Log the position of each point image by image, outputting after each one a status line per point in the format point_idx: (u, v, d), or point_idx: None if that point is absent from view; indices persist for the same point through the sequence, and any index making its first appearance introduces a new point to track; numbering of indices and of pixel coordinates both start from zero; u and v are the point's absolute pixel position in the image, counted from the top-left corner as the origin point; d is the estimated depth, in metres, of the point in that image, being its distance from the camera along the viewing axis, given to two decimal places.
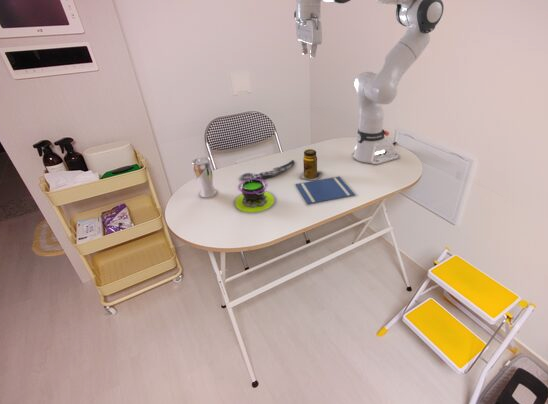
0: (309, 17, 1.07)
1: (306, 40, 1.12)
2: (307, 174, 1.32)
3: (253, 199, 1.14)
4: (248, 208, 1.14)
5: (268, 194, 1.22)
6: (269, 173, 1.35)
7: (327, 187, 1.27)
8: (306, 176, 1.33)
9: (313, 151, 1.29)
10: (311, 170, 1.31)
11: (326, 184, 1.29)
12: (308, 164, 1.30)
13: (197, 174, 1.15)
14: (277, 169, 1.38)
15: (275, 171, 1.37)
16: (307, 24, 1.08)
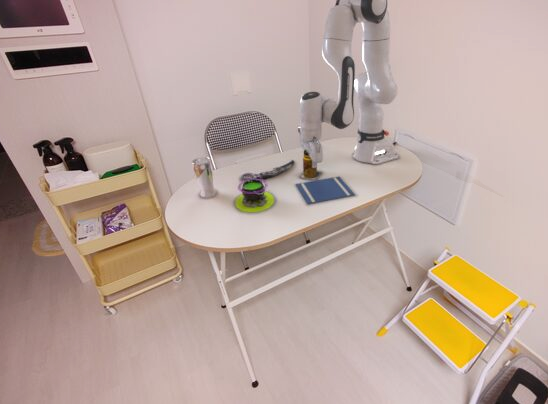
0: (311, 139, 1.23)
1: (309, 155, 1.27)
2: (307, 174, 1.33)
3: (253, 199, 1.14)
4: (248, 208, 1.14)
5: (268, 194, 1.22)
6: (269, 173, 1.35)
7: (327, 187, 1.27)
8: (306, 175, 1.34)
9: None
10: (311, 169, 1.31)
11: (326, 184, 1.29)
12: (308, 164, 1.30)
13: (197, 174, 1.15)
14: (277, 169, 1.38)
15: (275, 171, 1.37)
16: (310, 144, 1.23)
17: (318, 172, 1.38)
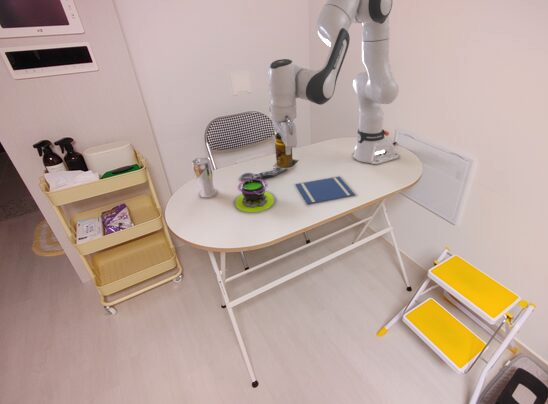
0: (283, 119, 1.00)
1: (281, 139, 1.05)
2: (280, 162, 1.10)
3: (253, 199, 1.14)
4: (248, 208, 1.14)
5: (268, 194, 1.22)
6: (269, 173, 1.35)
7: (327, 187, 1.27)
8: (279, 164, 1.11)
9: None
10: (285, 156, 1.09)
11: (326, 184, 1.29)
12: (280, 150, 1.07)
13: (197, 174, 1.15)
14: (277, 169, 1.39)
15: (275, 171, 1.37)
16: (281, 125, 1.01)
17: (295, 161, 1.15)
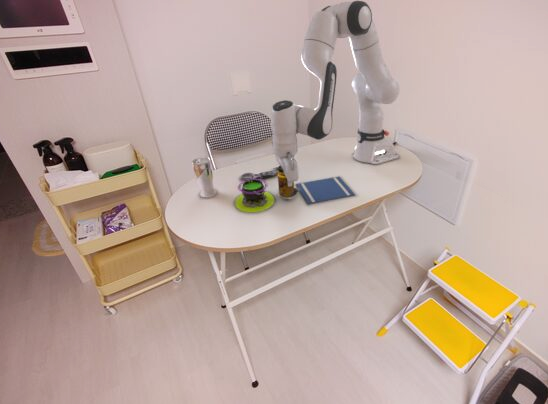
0: (285, 155, 1.07)
1: None
2: (283, 193, 1.17)
3: (253, 199, 1.14)
4: (248, 208, 1.14)
5: (268, 194, 1.22)
6: (269, 173, 1.35)
7: (327, 187, 1.27)
8: (281, 194, 1.18)
9: None
10: (287, 187, 1.16)
11: (326, 184, 1.29)
12: (283, 182, 1.14)
13: (197, 174, 1.15)
14: (277, 169, 1.39)
15: (275, 171, 1.37)
16: (283, 161, 1.08)
17: (296, 190, 1.22)
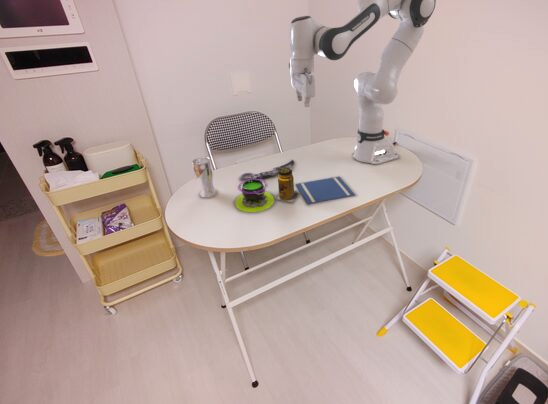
0: (303, 71, 1.11)
1: (300, 91, 1.16)
2: (283, 196, 1.18)
3: (253, 199, 1.14)
4: (248, 208, 1.14)
5: (268, 194, 1.22)
6: (269, 173, 1.35)
7: (327, 187, 1.27)
8: (281, 197, 1.19)
9: (288, 170, 1.15)
10: (287, 190, 1.16)
11: (326, 184, 1.29)
12: (283, 185, 1.15)
13: (197, 174, 1.15)
14: (277, 169, 1.39)
15: (275, 171, 1.37)
16: (301, 77, 1.12)
17: (296, 193, 1.23)
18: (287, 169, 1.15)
